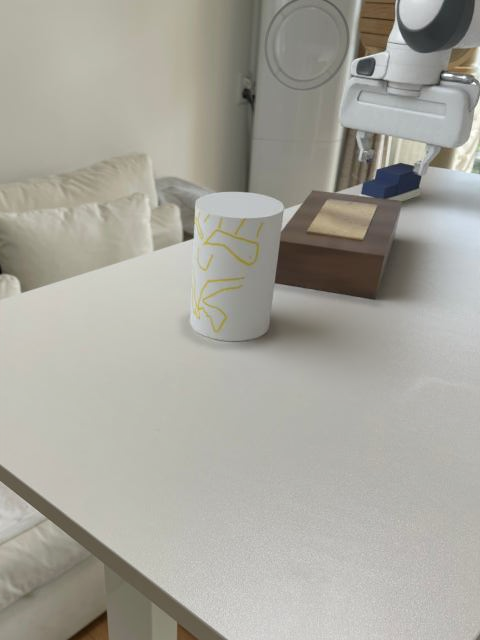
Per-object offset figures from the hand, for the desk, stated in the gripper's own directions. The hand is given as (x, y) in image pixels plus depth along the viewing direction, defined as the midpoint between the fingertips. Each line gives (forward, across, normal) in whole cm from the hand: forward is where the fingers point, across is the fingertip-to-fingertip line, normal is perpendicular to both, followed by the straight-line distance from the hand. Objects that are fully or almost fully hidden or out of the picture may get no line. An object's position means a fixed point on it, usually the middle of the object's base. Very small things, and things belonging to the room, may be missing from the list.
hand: (391, 168), depth 101 cm
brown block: (+5, -10, +28) cm, 30 cm away
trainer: (+5, 0, -1) cm, 5 cm away
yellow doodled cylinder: (+6, -13, +52) cm, 54 cm away
